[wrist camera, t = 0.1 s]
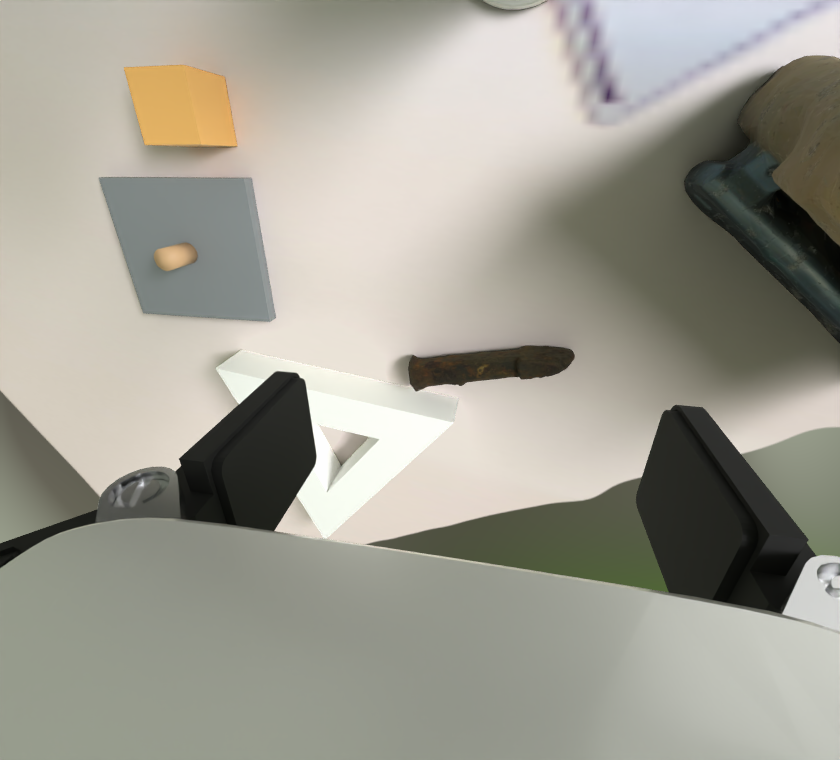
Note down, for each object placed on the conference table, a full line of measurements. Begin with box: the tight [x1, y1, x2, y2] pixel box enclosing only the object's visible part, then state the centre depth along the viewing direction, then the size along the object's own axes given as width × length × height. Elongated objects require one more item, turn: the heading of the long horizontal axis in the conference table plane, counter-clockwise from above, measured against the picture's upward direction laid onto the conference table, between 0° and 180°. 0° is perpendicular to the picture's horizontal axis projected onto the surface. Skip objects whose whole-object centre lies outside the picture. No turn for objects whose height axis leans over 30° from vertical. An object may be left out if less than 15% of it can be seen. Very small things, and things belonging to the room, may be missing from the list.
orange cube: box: [124, 65, 237, 147], centre depth 40 cm, size 6×6×6 cm
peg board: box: [99, 177, 276, 322], centre depth 48 cm, size 16×18×6 cm
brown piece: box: [408, 346, 575, 392], centre depth 48 cm, size 19×4×5 cm, turn 100°
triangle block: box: [216, 350, 459, 539], centre depth 59 cm, size 30×26×6 cm
